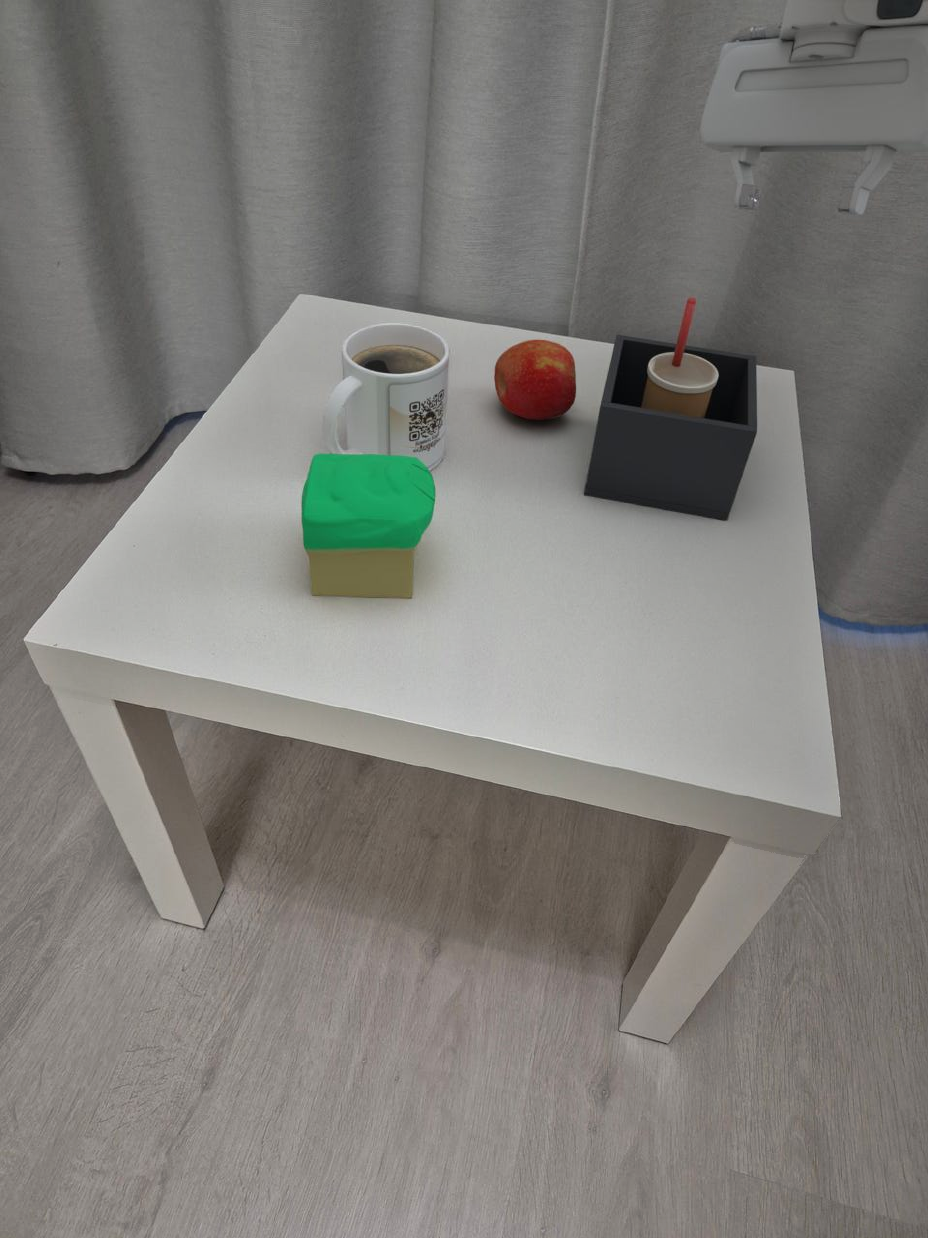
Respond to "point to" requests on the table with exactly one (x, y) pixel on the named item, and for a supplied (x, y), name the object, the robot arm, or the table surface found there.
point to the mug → (392, 393)
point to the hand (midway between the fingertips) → (795, 210)
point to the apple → (536, 379)
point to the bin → (673, 435)
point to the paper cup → (680, 377)
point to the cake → (365, 523)
